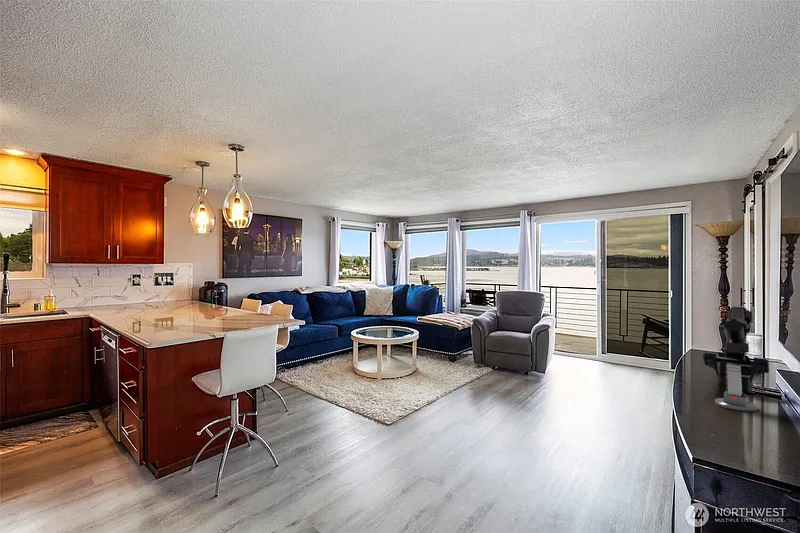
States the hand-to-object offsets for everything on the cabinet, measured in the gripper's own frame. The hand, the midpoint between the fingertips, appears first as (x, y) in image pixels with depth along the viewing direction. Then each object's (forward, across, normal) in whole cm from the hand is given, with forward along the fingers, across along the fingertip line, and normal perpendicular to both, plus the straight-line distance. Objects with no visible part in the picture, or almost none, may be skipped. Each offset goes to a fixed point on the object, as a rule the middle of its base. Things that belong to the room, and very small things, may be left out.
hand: (734, 380), depth 138 cm
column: (+3, 0, +5) cm, 6 cm away
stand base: (+6, 0, +8) cm, 10 cm away
